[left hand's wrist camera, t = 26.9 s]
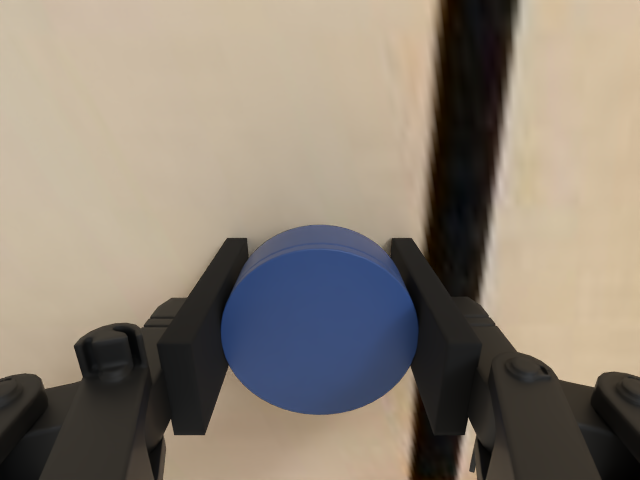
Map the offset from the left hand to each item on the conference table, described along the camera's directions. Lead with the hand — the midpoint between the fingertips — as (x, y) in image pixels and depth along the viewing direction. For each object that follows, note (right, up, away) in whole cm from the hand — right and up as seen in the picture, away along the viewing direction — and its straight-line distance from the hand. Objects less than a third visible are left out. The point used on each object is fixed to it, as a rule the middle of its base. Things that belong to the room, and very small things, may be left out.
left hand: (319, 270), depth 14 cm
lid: (0, -2, -4) cm, 4 cm away
